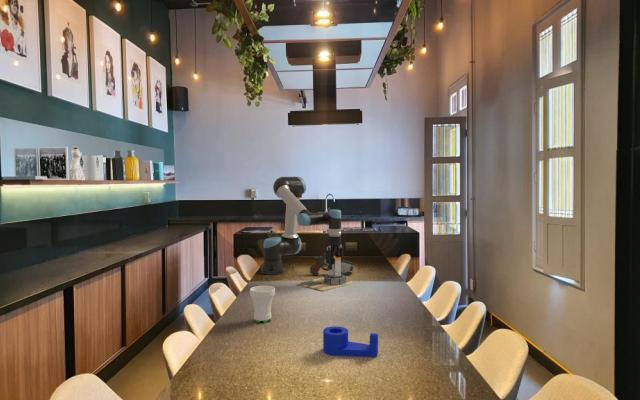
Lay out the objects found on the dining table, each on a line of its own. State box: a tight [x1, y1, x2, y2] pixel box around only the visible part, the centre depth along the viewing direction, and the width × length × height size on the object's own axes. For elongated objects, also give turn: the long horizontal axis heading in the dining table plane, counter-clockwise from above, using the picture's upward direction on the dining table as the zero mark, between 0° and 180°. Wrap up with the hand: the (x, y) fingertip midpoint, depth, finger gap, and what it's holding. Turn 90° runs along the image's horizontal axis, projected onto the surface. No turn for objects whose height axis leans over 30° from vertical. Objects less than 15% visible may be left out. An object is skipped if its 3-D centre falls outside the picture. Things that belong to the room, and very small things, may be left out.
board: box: [296, 276, 355, 292], centre depth 255 cm, size 22×26×1 cm
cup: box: [249, 285, 276, 324], centre depth 188 cm, size 11×11×14 cm
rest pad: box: [300, 279, 322, 286], centre depth 254 cm, size 9×9×1 cm
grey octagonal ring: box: [323, 273, 347, 285], centre depth 256 cm, size 13×13×4 cm
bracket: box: [322, 325, 379, 358], centre depth 154 cm, size 20×9×8 cm, turn 77°
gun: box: [308, 252, 355, 277], centre depth 280 cm, size 5×27×15 cm, turn 89°
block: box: [329, 255, 342, 278], centre depth 256 cm, size 5×5×14 cm
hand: (334, 274), depth 256 cm, fingers closed on block, 5 cm apart
